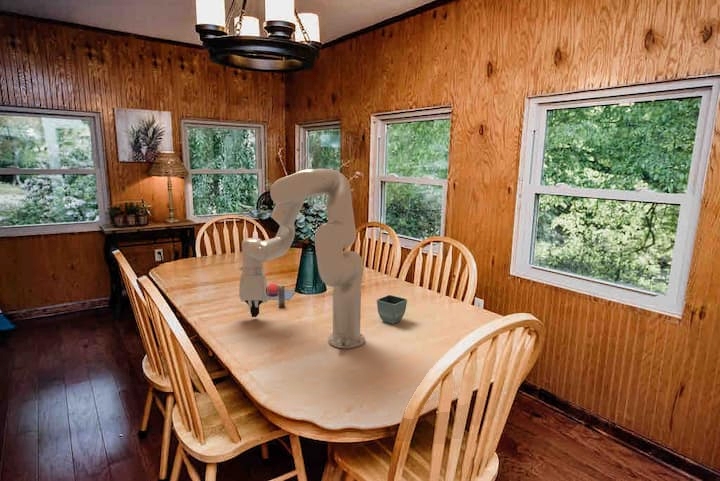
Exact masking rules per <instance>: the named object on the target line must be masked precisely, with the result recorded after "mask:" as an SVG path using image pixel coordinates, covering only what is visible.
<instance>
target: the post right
mask: <svg viewBox="0 0 720 481" xmlns="http://www.w3.org/2000/svg"><path fill="white" fill-rule="evenodd" d="M285 289H286V288H285V285H278V297H279V300H278V308H279V309H283V308H286V300H285Z"/></svg>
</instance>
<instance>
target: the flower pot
mask: <svg viewBox="0 0 720 481" xmlns="http://www.w3.org/2000/svg"><path fill="white" fill-rule="evenodd" d="M407 304H408V299H407V298H405V297H400V296H395V295H392V294H388V295H386V296H383V297H380V298H378V299H376V305H377V306H376V307H377V313H378V315H379V318H380V319H381V321H382V322H385V323H387V324H391V325H395V324H397V323H398V322H400V321H401V320H402V319H403V317H404V316H405V313H406V309H407Z"/></svg>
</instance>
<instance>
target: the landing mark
mask: <svg viewBox="0 0 720 481" xmlns="http://www.w3.org/2000/svg"><path fill="white" fill-rule="evenodd" d="M294 290H295V289H286V288H285V301H289V300H291V298H292V297H293V296H294V295H295V294H294V293H296V292H294ZM267 297H268V300H278V301H279V297H278V293H277V294H276V295H270V294H268V296H267Z"/></svg>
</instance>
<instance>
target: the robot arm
mask: <svg viewBox="0 0 720 481" xmlns="http://www.w3.org/2000/svg"><path fill="white" fill-rule="evenodd" d="M269 193H270V199H271V200H272V201H273V203H275V205H274V207H273V209H272V212H271V218H272V220H274V221H275V222H276V223H277V224H278V225H279V228H278V230H277V233H276V235H275V237H273V238H269V239H265V240H262V239H261V238H259V237H248V238H244V239H243V240H242V242H241V251H242V252H241V253H242V254H241V255H242V256H241V257H242V266H240V267H239V271H242V273H241V274H240V278H239V291H238V292H239V299H240V302H243V303H246V304H247V305H248V307H249V309H250V310H249V311H250V315H251V318H256V317H257V316H259V315H260V306H261V305H262V304H264V303H265V304H266V303H267V302H268V301H269V299H268V297H267V296H268V280H267V277H266V273H265V272H264V262H267V261H268V262H269V261H272V260H274V259H277V258H281V257H284V256H285V255H286V254H287V253H288V251H289V250H290V248H291V246H292V244H293V241H294V239H295V236H296V226H295V222H296V220H297V219H298V218H297V217H298V215H299V213H300V211H301V209H302V207H303V205H304V203H305V201H306V199H307V198H310V197H316V196H323V195H327V196H328V198H327V201H326V202H327V203H326V212H327V213H326V214H327V222H325V223H323V224H321V225H320V226H319V227H318V228H317V229H316V231H315V235H314V247H315V254H316V262H317V263H316V264H317V269H318V274H319V277H320V279H321V280H322V282H323V283H324V284H325V285H326V286H328V287H332V333H331V334H330V335H329V336H328V339H327V340H328V341H327V342H328V343H329V345H331V346H332V347H335V348H339V349H347V350H348V349H355V348H358V347H360V346H362V345H363V344H364V343H365V338H366V337H365V336H364V334H362V333H361V308H362V307H361V305H362V304H361V303H362V302H361V300H362V299H361V298H362V282H363V277H364V276H363V275H364V270H365V269H364V267H365V266H364V261H363V258H362V256H361V255H360V254H359V253H357V252H356V251H353V250H344V249H347V248H348V247H350V246H352V245H353V244H354V243H355V241H356V240H357V239H356V238H357V232H356V224H355V223H356V221H355V215H354V208H353V200H352V199H353V198H352V188H351V185H350V182H349V180H348V178H347V177H346V175H344V173H341V171H339V170H335V169H332V168H315V169H314V168H309V169H304V170H300V171H297V172H295V173H292V174H290V175H287V176H284V177H280V178H279V179H277V180H276V181H274V182H273V183H272V185H271V187H270V191H269ZM254 301H255V304H254Z"/></svg>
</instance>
